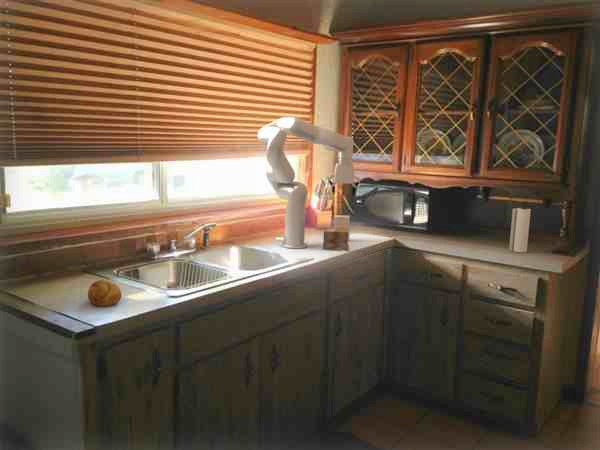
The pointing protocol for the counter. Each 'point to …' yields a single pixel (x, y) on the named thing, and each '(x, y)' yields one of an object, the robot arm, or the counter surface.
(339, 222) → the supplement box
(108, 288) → the bread roll
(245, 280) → the counter surface
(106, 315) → the counter surface
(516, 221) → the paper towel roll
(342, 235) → the cleat holder
